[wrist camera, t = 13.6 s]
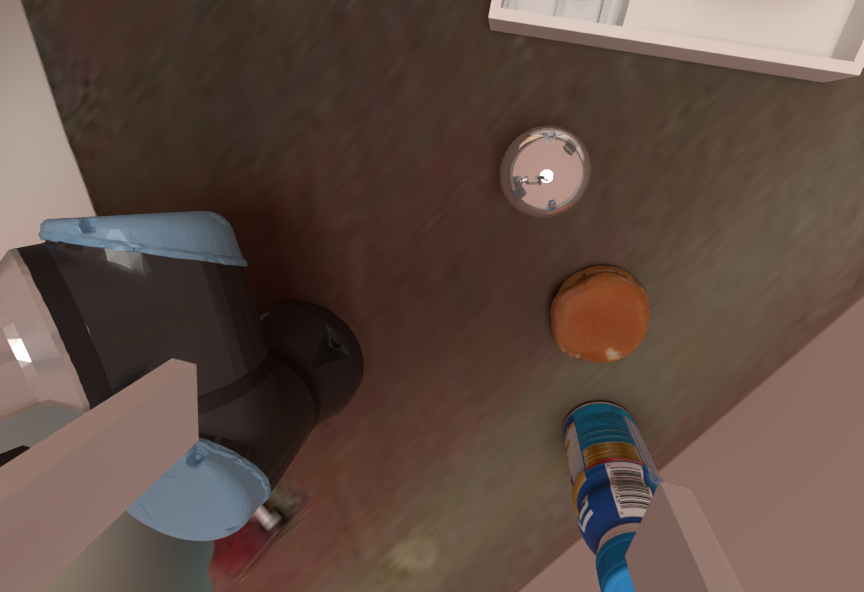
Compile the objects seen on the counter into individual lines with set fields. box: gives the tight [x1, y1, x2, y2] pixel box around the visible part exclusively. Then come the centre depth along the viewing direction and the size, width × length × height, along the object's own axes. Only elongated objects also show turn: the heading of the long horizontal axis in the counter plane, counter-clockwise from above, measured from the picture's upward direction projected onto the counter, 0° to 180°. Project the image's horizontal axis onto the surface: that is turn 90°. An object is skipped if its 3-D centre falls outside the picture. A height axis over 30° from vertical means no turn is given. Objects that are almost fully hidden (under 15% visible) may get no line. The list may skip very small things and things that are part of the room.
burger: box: [550, 265, 650, 363], centre depth 43 cm, size 10×9×5 cm
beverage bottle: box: [563, 402, 665, 592], centre depth 40 cm, size 8×8×20 cm
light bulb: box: [499, 125, 592, 218], centre depth 36 cm, size 7×7×12 cm
